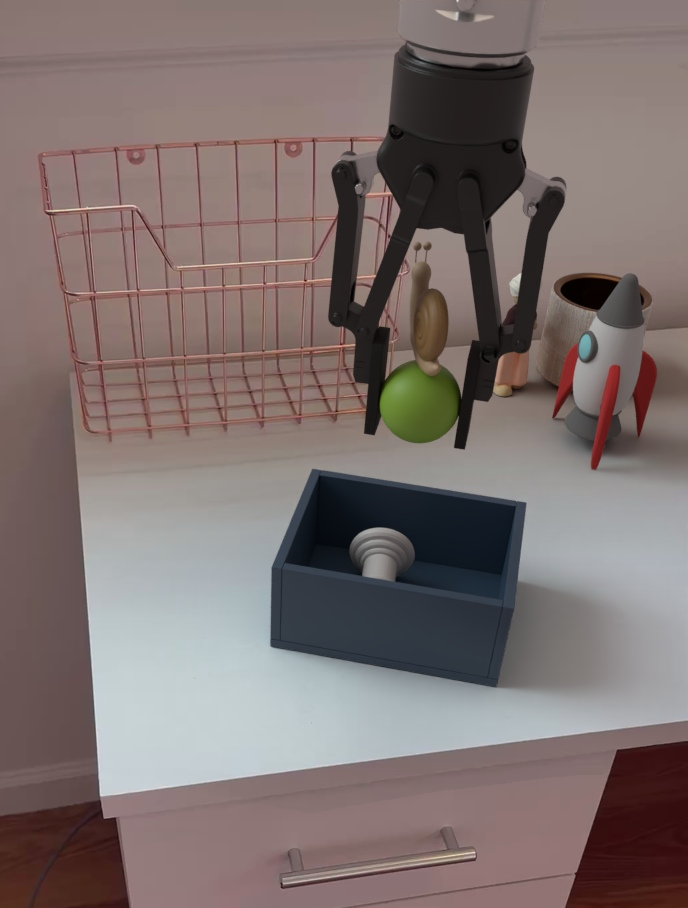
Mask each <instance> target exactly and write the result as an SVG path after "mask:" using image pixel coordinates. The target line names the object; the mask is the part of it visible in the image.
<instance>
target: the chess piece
mask: <svg viewBox="0 0 688 908" xmlns="http://www.w3.org/2000/svg"><path fill="white" fill-rule="evenodd" d="M349 554H350V558H351V561H352V563H353V565H354V566H355V567H356V568H357V569H358V570H359V571H361V572H362V576H364V577H370V578H376V579H382V580H388V581H394V582H395V580H396V577H398V576H400V575H402V574H404V573H405V572H407V571H408V570H409V569H410V567H411V566H412V564H413V562H414V559H415V552H414V548H413V545H412V543H411V542H410V540H409V539H408V538H407V537H406V536H404V535H403V534H401V533H400V532H398V531H395V530H392V529H388V528H371V529H368V530H365V531H363V532H361V533H359V534H358V535H357V536H356V537H355V538H354V539H353V541H352V543H351V545H350V548H349Z"/></svg>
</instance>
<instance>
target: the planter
mask: <svg viewBox="0 0 688 908" xmlns="http://www.w3.org/2000/svg"><path fill="white" fill-rule="evenodd" d="M622 277H623V276H622ZM622 277H621V276H618V275H615V274H614V275H613V274H609V273H601V272H576V273H570V274H566V275H563V276H560V277H559V278H557V279H556V280H555V281H554V282H553V283H552V285H551V291H550V294H549V298H548V304H547V308H546V309H547V310H546V314H545V318H544V323H543V328H542V332H541V336H540V341H539V342H540V343H539V346H538V350H537V354H536V363H535V367H536V370H537V372H538V373H539V374H540V376H541V377H542V378H543V379H544V380H545V381H546V382H548V383H550V384H551V385H552V386H554V387H556V388H558V389H559V385H560V380H561V376H562V371H563V367H564V362H565V359H566V356H567V354H568V352H569V351H570V349H571V348H572V347H573V346H574V345H575V344H577V343H578V342H579V339H580V337H581V335H582V334H583V333H584V332H585V331H589V329H590V327H591V324H592V322H593V320H594V319H595V317H596V315H597V312H598V310H600V309H601V308H602V306H603V305H604V303H605V302H606V300H607V299H608V297H609V296H610V295H611V293H612V292H613V290H614V289H615V287H616V286H617V285H618V283H619V282H620V280H621V279H622ZM639 290H640V298H641V305H642V313H643V317H644V337H645V336H646V331H647V328H648V324H649V320H650V316H651V312H652V308H653V305H654V297H653V295H652V293H651V292H650V291H649V290H648V289H646V288H645V287H644V286H643V285H641V284H639ZM644 339H645V338H644ZM644 339H643V341H644ZM571 393H572V394H573V390H572V391H571Z"/></svg>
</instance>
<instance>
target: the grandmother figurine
mask: <svg viewBox="0 0 688 908" xmlns="http://www.w3.org/2000/svg"><path fill="white" fill-rule="evenodd" d="M521 273H522V272H520V273H519V274H517V275H516V276H514V277H513V278H512V279H511V281H510V282H509V283H508V286H509V289H510V290H509V291H510V295H511V296H512V299H513V302H514V305H512V306H511V307H510V308H509V309H508V310H507V313H506V316H505V318H504V320H502V326H506V325H511V324H514V321H515V314H516V307H517V300H518V293H519V286H520V280H521ZM542 287H543V280H542V279H541V284H540V289H541V288H542ZM537 317H538V312H537V311H536V316H535V322H534V328H533V331H535V330H537V328H538V319H537ZM529 364H530V349H529V350H528V351H527V352H525V353H523V354H519V353H516V352H510V353H506V354H504V355H502V356H501V357H500V359H499V362H498V367H497V373H496V378H495V384H494V389H493V393H494V394H495V395H497V396H499V397H509V396H511V395H513V389H515V390H517V389H518V390H519V389H522V388H523V387H524V386H525V385H526V384H527V383H528V377H529Z"/></svg>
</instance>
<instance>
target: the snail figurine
mask: <svg viewBox="0 0 688 908" xmlns="http://www.w3.org/2000/svg"><path fill="white" fill-rule="evenodd" d="M432 245H433V244H432V243H431V241H425V242H424V243H423V245H422V243H421V242H420V241H415V242H414V243H413V245H412V248H413V250H414V251H415V257H414V264H413V266H412V268H411V271H410V275H411V289H410V294H409V295H410V296H409V340H410V344H411V347H412V353H413V356H414V359H413V360H409V361H406V362H403V363H401V364H400V365H398V366H396V367H395V368H394V369H393V370H392V371H391V372H390V373H389V374H388V376H387V377H385V382H384V384H383V386H382V389H381V392H380V398H379V407H380V412H381V418H382V421H383V422H384V425H385V426H386V427H387V429H388V430H389V431H390V432H391V433H392V434H393V435H394V436H395V437H397V438H399V439H400V440H401V441H402V440H403V441H405V442H408V443H412V444H427V443H431V442H435V441H436V440H439V439H441V438H442V437H444V436H445V435H447V434H448V433H449V431H451V429H452V428H453V427H454V426H455V424H456V422H458V417H459V411H460V405H461V398H462V393H461V388H460V386H459V385H460V384H459V383H458V381H457V379H456V377H455V376H454V374H453V373H451V371H450V370H449V369H448V368H447V367H446V366H444V365H442V364H440V361H439V357H440V356H441V355H442V354H443V352H444V350H445V347H446V344H447V340H448V335H449V322H450V321H449V318H450V317H449V309H448V303H447V300H446V297H445V296H444V294H443V293H442V291H440V290H439V289H437V288H433V287H432V288H431V287H430V281H431V278H432V269H431V266H430V264H429V263H427V258H428V251H430V250H431V249H432V247H433V246H432ZM422 247H423V250H424V251H425V257H424V261H423V260H420V261H417V257H418V252H419V251H421V250H422Z"/></svg>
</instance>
